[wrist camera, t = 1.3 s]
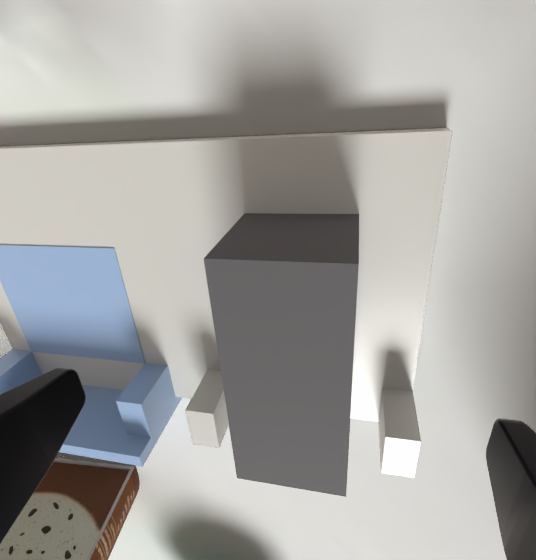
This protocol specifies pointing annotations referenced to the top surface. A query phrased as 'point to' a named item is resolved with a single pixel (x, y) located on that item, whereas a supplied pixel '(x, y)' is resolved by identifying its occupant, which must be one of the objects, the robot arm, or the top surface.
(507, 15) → the top surface
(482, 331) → the top surface
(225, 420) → the miniature room diorama
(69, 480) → the food container
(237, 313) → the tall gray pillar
